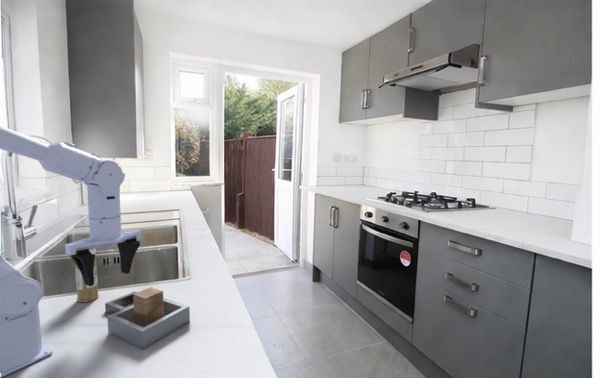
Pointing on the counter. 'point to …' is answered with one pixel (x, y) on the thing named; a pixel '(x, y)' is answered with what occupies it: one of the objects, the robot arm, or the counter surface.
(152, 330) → the tray
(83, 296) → the sprinkles bottle
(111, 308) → the socket collar
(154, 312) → the brown wooden block
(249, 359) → the counter surface
